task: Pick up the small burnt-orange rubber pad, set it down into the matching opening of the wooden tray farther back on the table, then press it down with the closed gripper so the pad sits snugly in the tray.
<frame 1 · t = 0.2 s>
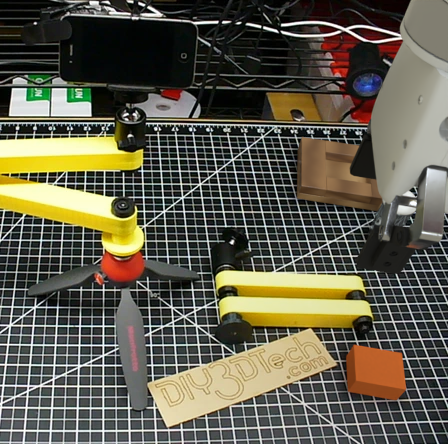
hand: (371, 218, 46), 29 cm above the workbench, tool pointing down, fingers open, 9 cm apart
milkshake: (375, 238, 83), on the workbench
orange pad: (370, 377, 69), on the workbench
wooden tray: (335, 179, 90), on the workbench
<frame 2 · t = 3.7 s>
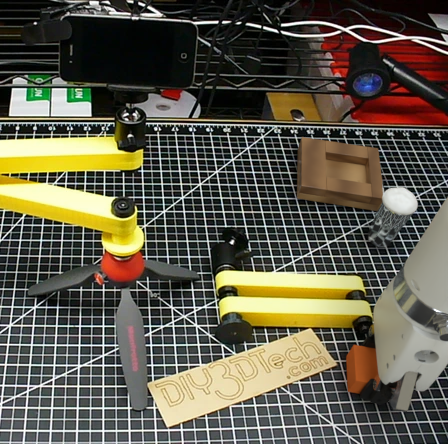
hand: (371, 376, 68), 0 cm above the workbench, tool pointing down, fingers closed on orange pad, 4 cm apart
orange pad: (370, 377, 69), on the workbench, touching gripper
everything else where it was.
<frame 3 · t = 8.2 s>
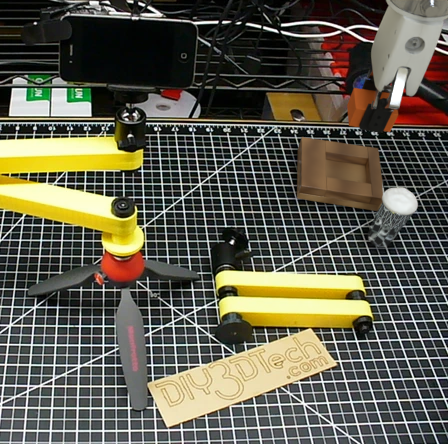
hand: (369, 116, 80), 13 cm above the workbench, tool pointing down, fingers closed on orange pad, 4 cm apart
orange pad: (368, 118, 80), point 12 cm above the workbench, touching gripper
everything else where it was.
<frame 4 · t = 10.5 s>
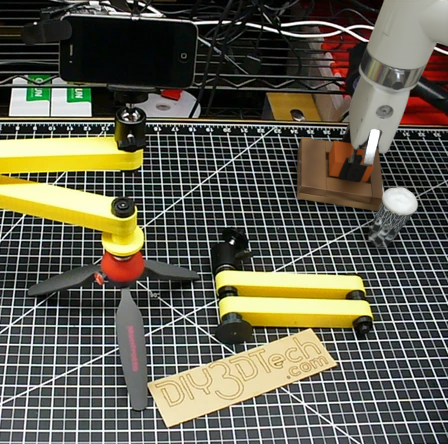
hand: (348, 166, 88), 3 cm above the workbench, tool pointing down, fingers closed on orange pad, 4 cm apart
orange pad: (347, 168, 88), point 3 cm above the workbench, touching gripper
everything else where it was.
when the fingers open (3 cm above the workbench, at t = 13.0 s): orange pad drops 2 cm, resting on wooden tray.
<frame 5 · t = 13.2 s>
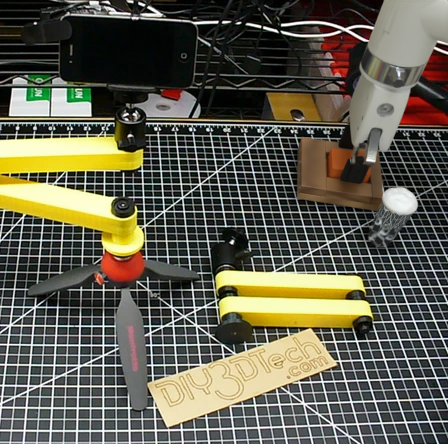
hand: (349, 163, 87), 4 cm above the workbench, tool pointing down, fingers open, 6 cm apart
orange pad: (344, 174, 89), point 1 cm above the workbench, touching wooden tray
everything else where it was.
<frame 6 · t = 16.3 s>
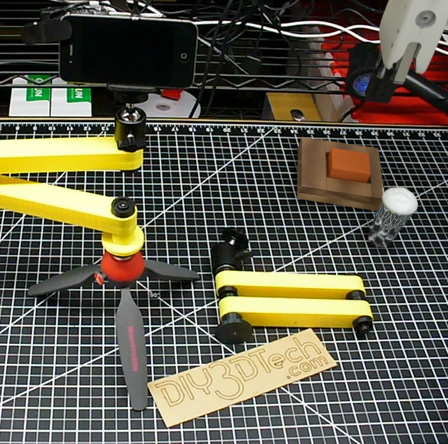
hand: (376, 98, 78), 16 cm above the workbench, tool pointing down, fingers closed
nothing on the workbench moved.
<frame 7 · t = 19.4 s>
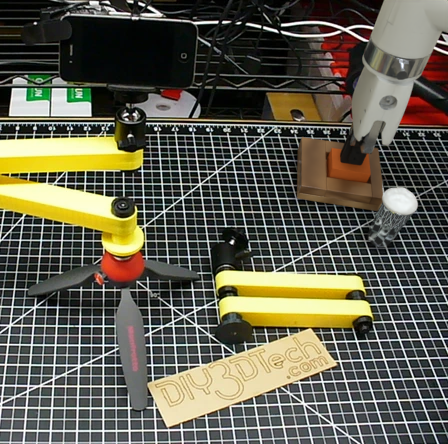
hand: (350, 160, 87), 4 cm above the workbench, tool pointing down, fingers closed
orange pad: (344, 174, 89), point 1 cm above the workbench, touching wooden tray, gripper
everything else where it was.
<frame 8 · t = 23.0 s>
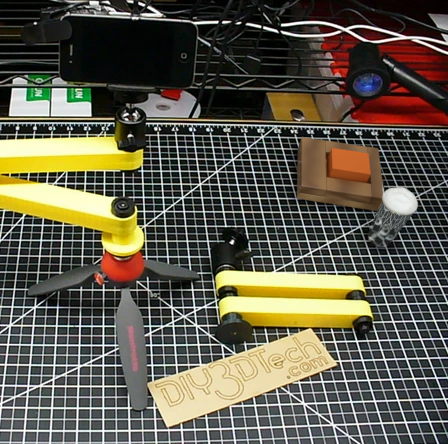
orange pad: (344, 174, 89), point 1 cm above the workbench, touching wooden tray
everything else where it was.
at the end: orange pad 0.0 cm from the target spot on the wooden tray, point 1.2 cm above the wooden tray's base; orange pad tilted 0°; the gripper is holding nothing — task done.
